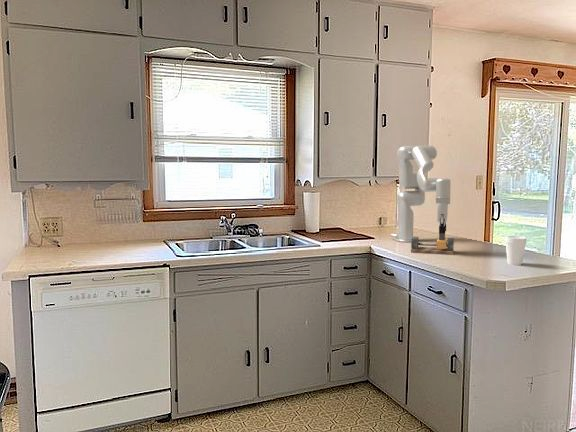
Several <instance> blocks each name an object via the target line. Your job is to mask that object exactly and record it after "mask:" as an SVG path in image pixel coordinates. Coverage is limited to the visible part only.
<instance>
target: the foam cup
mask: <svg viewBox="0 0 576 432" xmlns="http://www.w3.org/2000/svg"><path fill="white" fill-rule="evenodd" d="M504 243H505V251H506V252H505V253H506V260H507V264H508V265H511V264H512V265H511V266H521V264H522V265H523V260H524V255H525V254H524V253H525V249H526V244H527V237H526V236H521V235H507V236H504Z"/></svg>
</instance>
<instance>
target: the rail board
mask: <svg viewBox="0 0 576 432" xmlns="http://www.w3.org/2000/svg"><path fill="white" fill-rule="evenodd" d="M454 239H455V238H454V237H448V238H447V244H446V249H437V242H419V236H413V237H412V239H411V242H410V243H411V246H410V247H411V248H410V253H413V254H414V253H415V254H429V255H430V254H432V255H433V254H435V255H447V256H448V255H454V251H455V250H454V246H455V245H454V244H455V243H454V241H455V240H454Z"/></svg>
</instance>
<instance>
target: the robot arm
mask: <svg viewBox="0 0 576 432" xmlns="http://www.w3.org/2000/svg"><path fill="white" fill-rule="evenodd" d="M396 153H397V154H396V160H397V163H398V164H397V165H398V182H399V185H398V186H399V187H400V188H401V189H402V191H400V192H398V193H397V195H396V203H397V233H390V237H391V238H395V241H396V242H402V243H411V239H412V237H414V217H415V216H414V211H413V209H412V207H417V206H422V205H423V204H424V203H425V199H426V192H430V193H431V192H435V204H436V205H437V208H436V209H437V211H436V212H437V215H436V222H437V223H439V226H438V233H445V234H446V232H447V222H448V213H449V211H448V210H449V205H450V204H451V179H449V178H443V177H426V176H425V174H426V173H429V172H430V171H431V170H432V169H433V168H434V162H433V160H435V159H436V158H437V155H438V151H437V148H436V147H435V146H434V145H403V146H400V147H399V148H398V149H397V152H396ZM410 160H411V161H412V160H414V161H415V163H416V165H417V168H418V170H417V173H414V166H413V164H412V162H411V161H410ZM403 189H404V190H403ZM411 189H413V190H411Z"/></svg>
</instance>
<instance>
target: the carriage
mask: <svg viewBox="0 0 576 432" xmlns="http://www.w3.org/2000/svg"><path fill="white" fill-rule="evenodd" d="M438 233H439V232H438ZM447 240H448V238H446V232H445V233H439V234H438V238H437V240H436V243H437V246H436V247H437V249H446V248H447V247H446V244H447Z"/></svg>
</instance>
